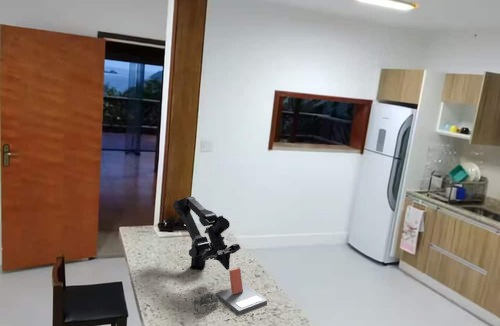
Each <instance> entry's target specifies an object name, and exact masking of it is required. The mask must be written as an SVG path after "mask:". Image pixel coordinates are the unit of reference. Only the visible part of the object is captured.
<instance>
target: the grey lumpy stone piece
mask: <svg viewBox="0 0 500 326" xmlns="http://www.w3.org/2000/svg"><path fill="white" fill-rule="evenodd" d="M220 301H221V300H220V299H219V298H218V297H216V295H214V294H213V293H212V292H211V291H209V292H207V293H205V294H202V295H200V296H197V297H193V299H192V300H191V303H192V309H194V310H197V312H198V313H200V314H202V313H203V314H205V313H206V311H211V310H212V308H218V305H219V303H220ZM201 303H204V304H201Z"/></svg>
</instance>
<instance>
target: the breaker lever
mask: <svg viewBox="0 0 500 326" xmlns="http://www.w3.org/2000/svg"><path fill="white" fill-rule="evenodd" d="M228 273H229V280H230V281H229V282H230V288H231V290H232V293H231V294H232V295H234V294H237V293H240V292H243V288H242V284H243V282H242V281H243V280H242V272H241V267H236V268H234V269H229V272H228Z"/></svg>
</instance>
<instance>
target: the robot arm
mask: <svg viewBox="0 0 500 326" xmlns="http://www.w3.org/2000/svg"><path fill="white" fill-rule="evenodd" d="M172 207H173V209H174V211H175V213H176V214H177V215H178V216H180V217H181V218H182V221H183V223H184V225H185V227H186V229H187V232H188V235H189V237H190V239H191V246H190V247H191V248H190V249H189V250H188V256H190V257H191V261H190V266H189V268H190V269H191V270H192V269H193V270H200V271H204V268H205V267H206V264H207V263H206V261H208V260H212V259H213V260H214V261H215V260H216V261H218V262H219V263H220V264H221V265H222V266H223V268H224V269H225V270H226V271H228V270H229V271H230V263H231V262H230V259H231V255H232V254H235V253H237V252H238V251H240V250H241V246H240V244H239V243H235V244H234V243H233V244H231V245H230V246H228V245H227V244H225V241H224V240H225V236H222V234H223V233H224V232H225V231H227V230H228V229H229V228H230V227H231V225H230V221H229V220H228V219H227V218H226V217H224V216H223V215H219V216H218V215H217V214H216V213H215V212H213V211H211V210H208V209H206V208H205V206H203V205H202V204H201V203H200V202H199V201H197V199H196V198H195V196H187V197H186V196H185V197H184V198H182V199H177V200H175V201H174V202H173V205H172ZM191 210H192V212H194V214H195V215H196V216H197V217H198V220H199V223H200V224H201V226H202V227H206V228H205V230H204V234H207V236H208V238H209V239H208V238H207V237H206V236H202V234H201V232H200V230H199V228H198V226H197V224H196V222H195V219H194V218H193V214H192V212H191ZM209 241H210V242H209Z"/></svg>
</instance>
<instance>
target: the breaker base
mask: <svg viewBox="0 0 500 326" xmlns="http://www.w3.org/2000/svg"><path fill="white" fill-rule="evenodd" d="M242 288H243V292H240V293H237V294H234V295H232V294H231V293H232V290H231V287H230V288H226V289H224V290H220V291H218V292H215V296H216V297H217V298H218V300H220V301H221V302H222V303H223V304H225V305H226V306H228V307H229V308H230V310H231V309H232V310H233V311H234V312H235V313H236V314H238V315H240V314H244V313H245V312H248V311H251V310H254V309H256V308H258V307H261V306H264V305H266V304H267V303H268V299H267V298H265V297H264V296H263V295H261V294H259V293H258V292H257V291H255V290H254V289H252V288H250V287H249V286H248V285H247V284H245V283H242Z"/></svg>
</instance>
